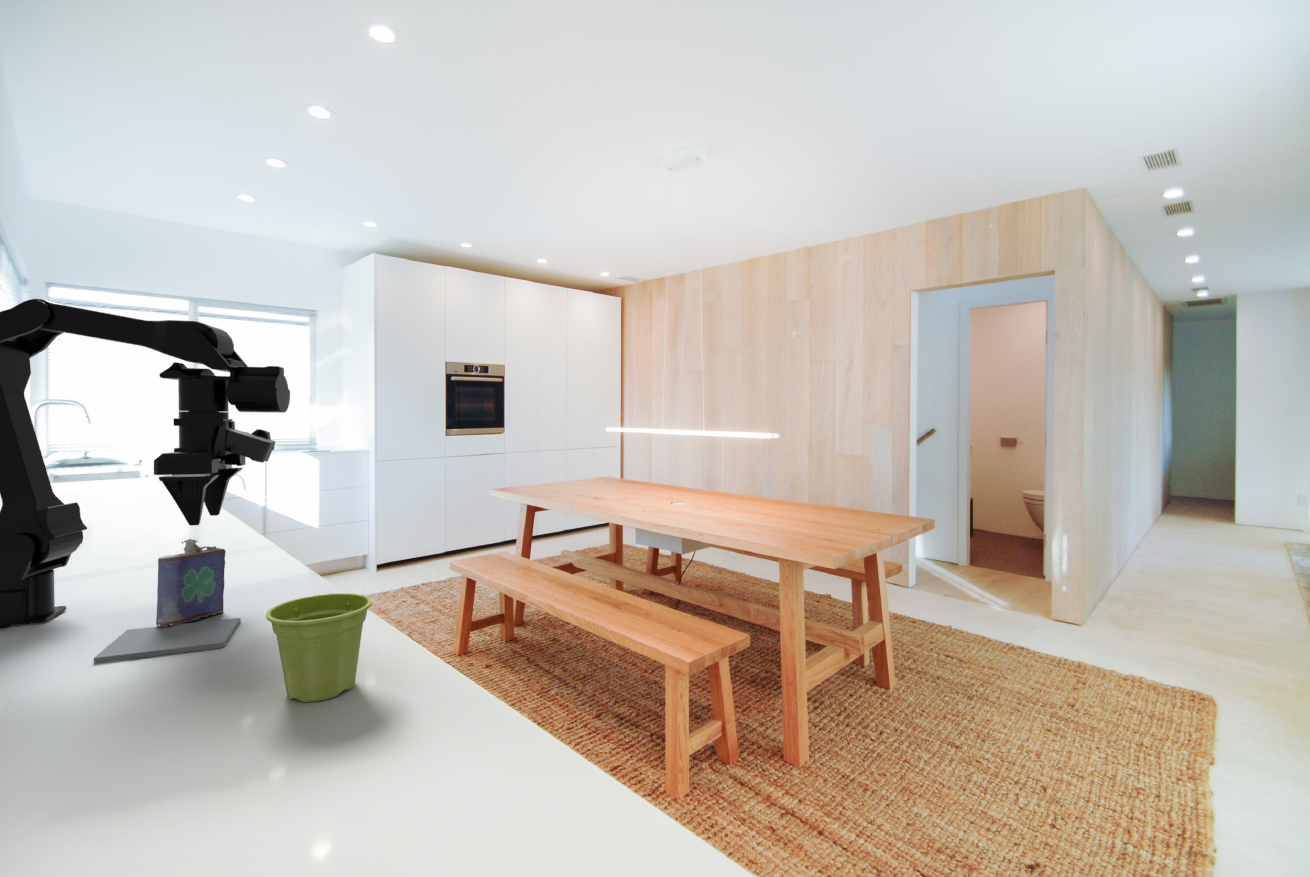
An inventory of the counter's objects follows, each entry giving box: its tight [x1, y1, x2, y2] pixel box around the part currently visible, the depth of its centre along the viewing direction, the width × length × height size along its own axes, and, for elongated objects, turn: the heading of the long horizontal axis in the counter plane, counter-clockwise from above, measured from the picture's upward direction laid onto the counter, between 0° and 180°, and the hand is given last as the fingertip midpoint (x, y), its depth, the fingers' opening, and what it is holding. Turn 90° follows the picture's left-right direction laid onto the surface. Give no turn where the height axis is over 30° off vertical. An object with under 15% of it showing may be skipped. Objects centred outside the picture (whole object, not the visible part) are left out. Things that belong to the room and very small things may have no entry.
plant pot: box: [265, 592, 372, 703], centre depth 61 cm, size 9×9×9 cm
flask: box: [155, 538, 226, 627], centre depth 81 cm, size 9×3×11 cm, turn 171°
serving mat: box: [93, 617, 241, 664], centre depth 74 cm, size 10×12×1 cm
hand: (205, 520), depth 86 cm, fingers open, 9 cm apart
